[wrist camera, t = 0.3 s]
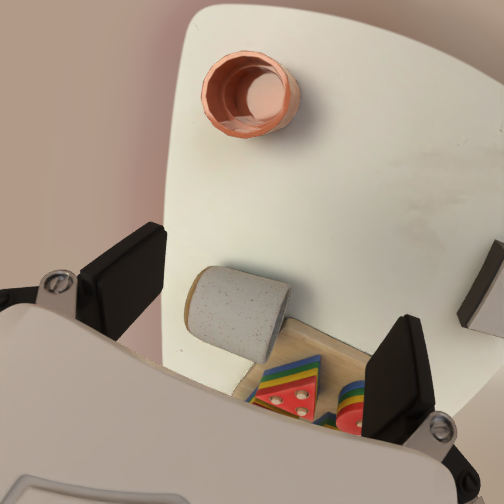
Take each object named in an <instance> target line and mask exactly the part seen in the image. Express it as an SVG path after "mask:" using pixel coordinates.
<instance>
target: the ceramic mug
mask: <svg viewBox="0 0 504 504" xmlns="http://www.w3.org/2000/svg"><path fill="white" fill-rule="evenodd" d="M290 290H291V286H290V285H289V284H287V283H284V282H280V281H276V280H272V279H268V278H264V277H261V276H257V275H253V274H249V273H245V272H241V271H238V270H235V269H231V268H228V267H221V266H210V267H207V268H206V269H204V270H203V271H201V273H200V274H199V275H198V276H197V277H196V279H195V280H194V282H193V284H192V286H191V288H190V290H189V293H188V296H187V299H186V303H185V309H184V322H185V326H186V328H187V330H188V331H189V332H190V333H191V334H192V335H194V336H195V337H197V338H198V339H200V340H202V341H204V342H206V343H209V344H211V345H213V346H216V347H219V348H222V349H224V350H226V351H229V352H231V353H233V354H236V355H238V356H241V357H243V358H246V359H248V360H251V361H253V362H256V363H259V364H265V363H266V362H267V361H268V359H269V357H270V355H271V353H272V350H273V348H274V345H275V342H276V339H277V337H278V334H279V331H280V328H281V325H282V322H283V319H284V316H285V311H286V308H287V305H288V301H289V297H290Z"/></svg>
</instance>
